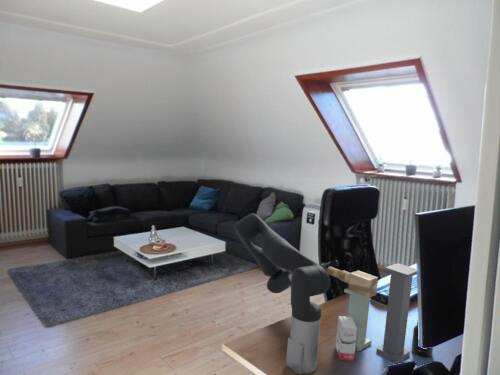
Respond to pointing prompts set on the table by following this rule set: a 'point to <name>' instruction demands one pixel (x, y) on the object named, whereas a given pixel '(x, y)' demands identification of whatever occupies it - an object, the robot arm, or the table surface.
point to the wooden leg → (356, 281)
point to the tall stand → (397, 312)
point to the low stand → (359, 317)
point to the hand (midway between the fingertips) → (330, 265)
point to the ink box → (346, 338)
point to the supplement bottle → (416, 348)
